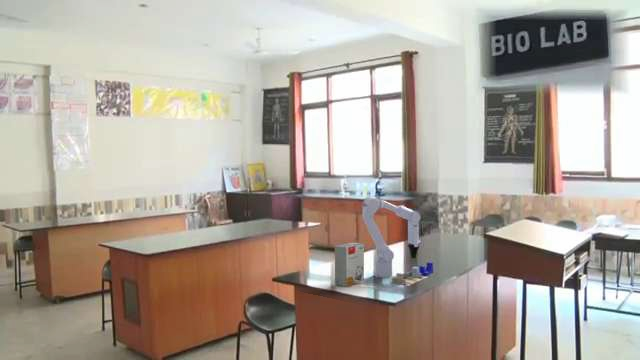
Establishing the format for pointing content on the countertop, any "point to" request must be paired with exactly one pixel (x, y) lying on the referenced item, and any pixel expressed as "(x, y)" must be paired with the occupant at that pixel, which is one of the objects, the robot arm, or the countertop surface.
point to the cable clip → (428, 269)
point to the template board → (406, 278)
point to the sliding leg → (415, 272)
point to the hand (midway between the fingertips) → (413, 257)
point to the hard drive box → (349, 264)
